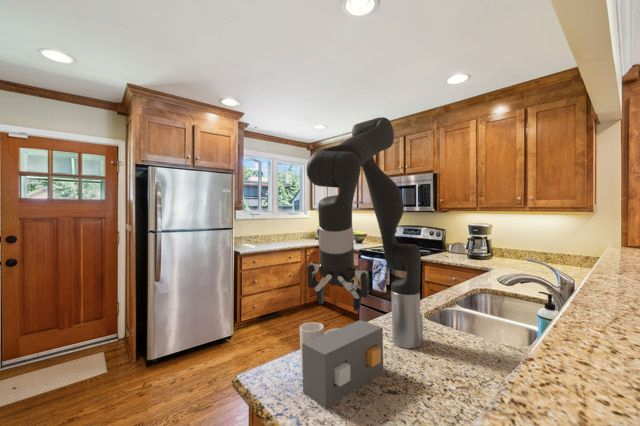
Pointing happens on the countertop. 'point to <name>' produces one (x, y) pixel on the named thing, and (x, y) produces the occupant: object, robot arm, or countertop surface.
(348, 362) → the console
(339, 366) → the white cube
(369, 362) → the orange button
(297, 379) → the countertop surface
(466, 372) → the countertop surface
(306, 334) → the mug
